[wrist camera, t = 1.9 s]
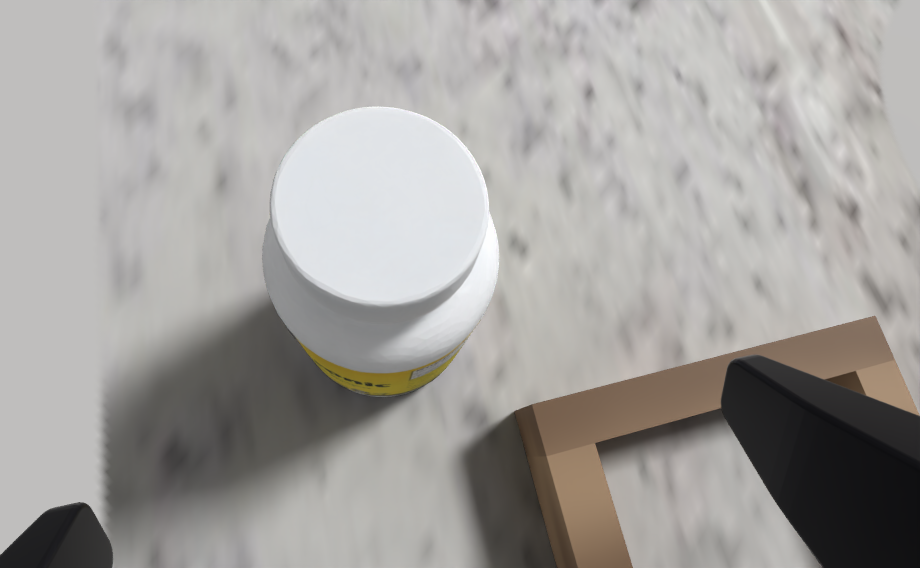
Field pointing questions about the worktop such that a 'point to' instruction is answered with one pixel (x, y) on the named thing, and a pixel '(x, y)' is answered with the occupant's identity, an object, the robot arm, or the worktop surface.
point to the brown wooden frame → (662, 401)
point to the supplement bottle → (380, 248)
